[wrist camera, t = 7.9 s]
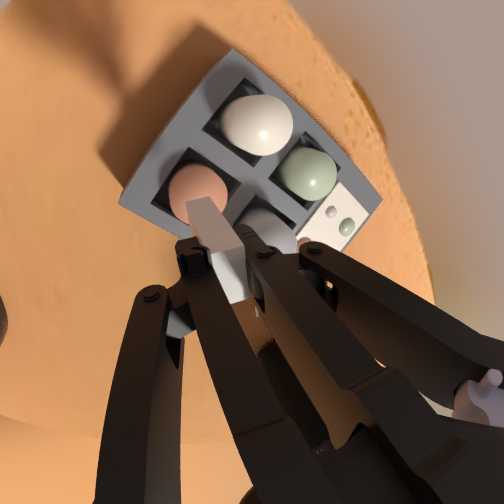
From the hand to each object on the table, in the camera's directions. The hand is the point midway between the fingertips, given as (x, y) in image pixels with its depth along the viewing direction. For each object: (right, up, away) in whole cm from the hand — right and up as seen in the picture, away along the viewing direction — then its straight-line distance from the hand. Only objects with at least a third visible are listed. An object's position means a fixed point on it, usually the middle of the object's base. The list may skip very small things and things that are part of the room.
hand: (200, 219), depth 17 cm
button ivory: (+2, +9, +5) cm, 10 cm away
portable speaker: (+7, -17, +26) cm, 32 cm away
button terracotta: (-2, +4, +7) cm, 9 cm away
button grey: (+3, 0, +10) cm, 10 cm away
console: (+4, +5, +11) cm, 13 cm away
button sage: (+7, +7, +10) cm, 14 cm away
